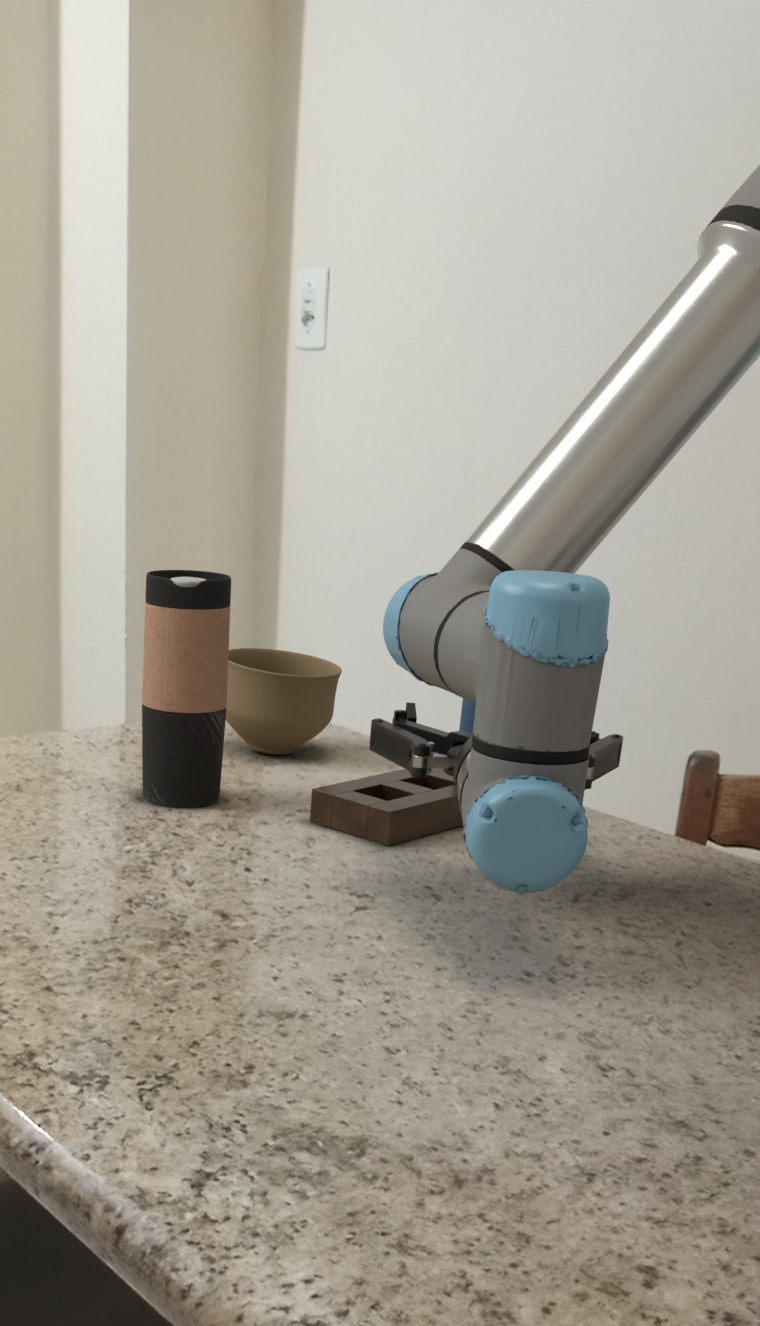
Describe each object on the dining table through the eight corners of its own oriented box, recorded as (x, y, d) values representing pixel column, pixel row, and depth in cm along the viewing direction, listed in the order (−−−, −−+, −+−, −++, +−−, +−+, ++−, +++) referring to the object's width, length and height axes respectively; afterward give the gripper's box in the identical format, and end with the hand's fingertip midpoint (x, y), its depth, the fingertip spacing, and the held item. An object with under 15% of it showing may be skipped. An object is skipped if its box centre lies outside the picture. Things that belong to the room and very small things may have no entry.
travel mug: (184, 782, 132) (192, 568, 125) (239, 800, 127) (250, 577, 120) (122, 794, 127) (127, 571, 120) (176, 813, 122) (184, 582, 115)
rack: (536, 805, 130) (540, 775, 129) (388, 846, 116) (391, 811, 115) (459, 785, 136) (462, 756, 135) (309, 821, 122) (311, 788, 121)
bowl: (314, 771, 139) (322, 672, 135) (198, 755, 143) (202, 658, 139) (349, 747, 150) (356, 654, 146) (240, 733, 154) (244, 642, 150)
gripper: (332, 820, 102) (340, 755, 122) (675, 846, 100) (627, 776, 120) (340, 720, 99) (347, 670, 119) (693, 744, 97) (641, 689, 117)
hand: (487, 723), depth 119 cm, fingers open, 13 cm apart
